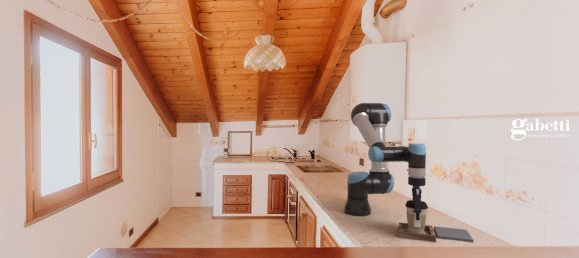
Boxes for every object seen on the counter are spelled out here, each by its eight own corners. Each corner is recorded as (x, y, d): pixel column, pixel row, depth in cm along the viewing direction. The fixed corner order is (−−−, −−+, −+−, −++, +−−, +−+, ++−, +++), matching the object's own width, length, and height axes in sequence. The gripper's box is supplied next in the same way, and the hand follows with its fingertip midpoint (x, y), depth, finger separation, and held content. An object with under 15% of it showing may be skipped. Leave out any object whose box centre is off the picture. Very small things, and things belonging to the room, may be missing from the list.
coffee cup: (421, 230, 146) (421, 199, 146) (431, 238, 136) (432, 205, 136) (401, 230, 145) (401, 199, 145) (410, 238, 136) (410, 205, 135)
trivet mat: (434, 228, 149) (434, 226, 149) (466, 231, 144) (466, 229, 144) (438, 238, 136) (438, 236, 136) (473, 242, 131) (473, 240, 131)
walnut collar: (398, 227, 150) (398, 222, 150) (431, 230, 145) (431, 225, 145) (399, 237, 136) (399, 232, 136) (436, 242, 131) (436, 236, 131)
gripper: (407, 172, 153) (406, 214, 153) (409, 180, 130) (409, 230, 130) (423, 173, 151) (422, 216, 151) (428, 181, 128) (427, 232, 128)
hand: (416, 222), depth 140 cm, fingers open, 12 cm apart
